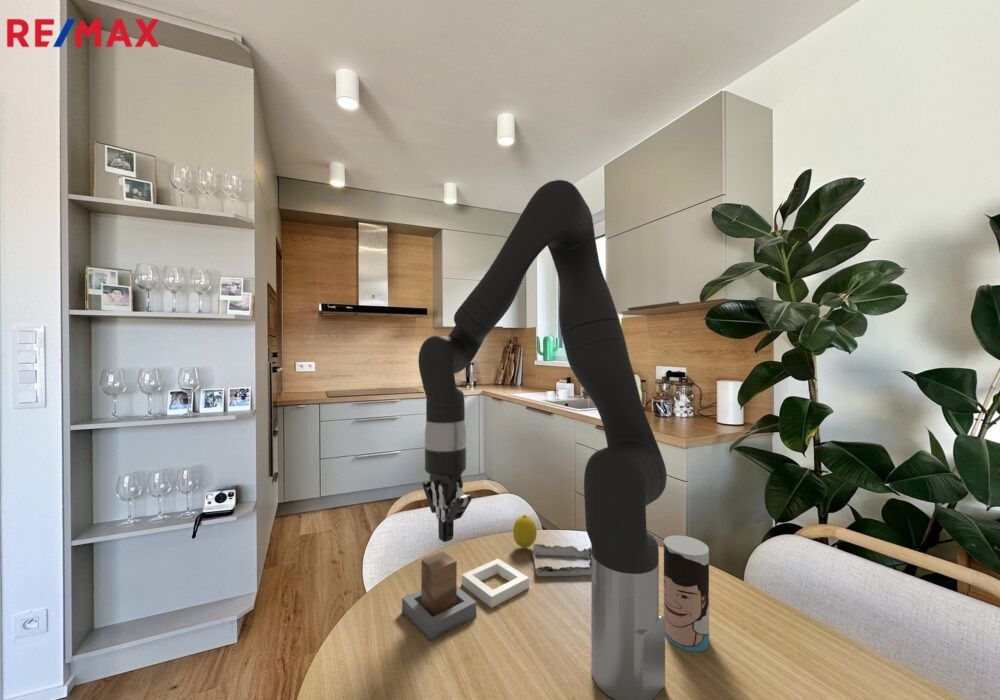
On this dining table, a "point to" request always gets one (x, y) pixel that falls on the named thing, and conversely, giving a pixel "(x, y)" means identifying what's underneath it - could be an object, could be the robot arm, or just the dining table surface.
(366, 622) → the dining table surface
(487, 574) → the white pocket frame
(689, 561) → the cup
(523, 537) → the lemon
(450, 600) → the walnut block
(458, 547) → the dining table surface
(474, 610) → the gray pocket tray
